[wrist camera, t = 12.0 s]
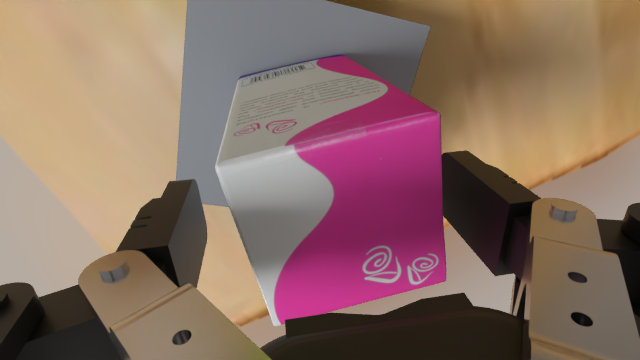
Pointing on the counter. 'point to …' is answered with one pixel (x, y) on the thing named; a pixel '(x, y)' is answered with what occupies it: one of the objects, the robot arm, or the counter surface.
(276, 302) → the supplement box
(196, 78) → the stacking block
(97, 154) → the counter surface
